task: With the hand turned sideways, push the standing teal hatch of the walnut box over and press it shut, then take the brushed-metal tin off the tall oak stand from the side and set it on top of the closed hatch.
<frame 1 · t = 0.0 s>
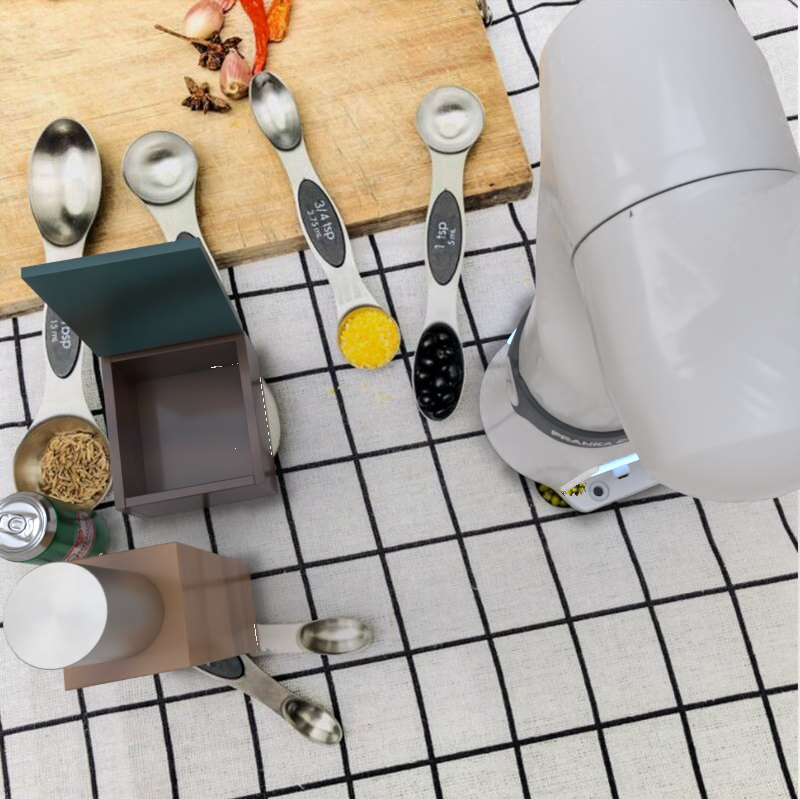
stand: (212, 614, 68), on the table
tin: (121, 614, 47), point 22 cm above the table, touching stand
soda can: (82, 539, 70), on the table
chest: (202, 435, 72), on the table
hatch: (143, 303, 60), point 14 cm above the table, hinge at 95.0°
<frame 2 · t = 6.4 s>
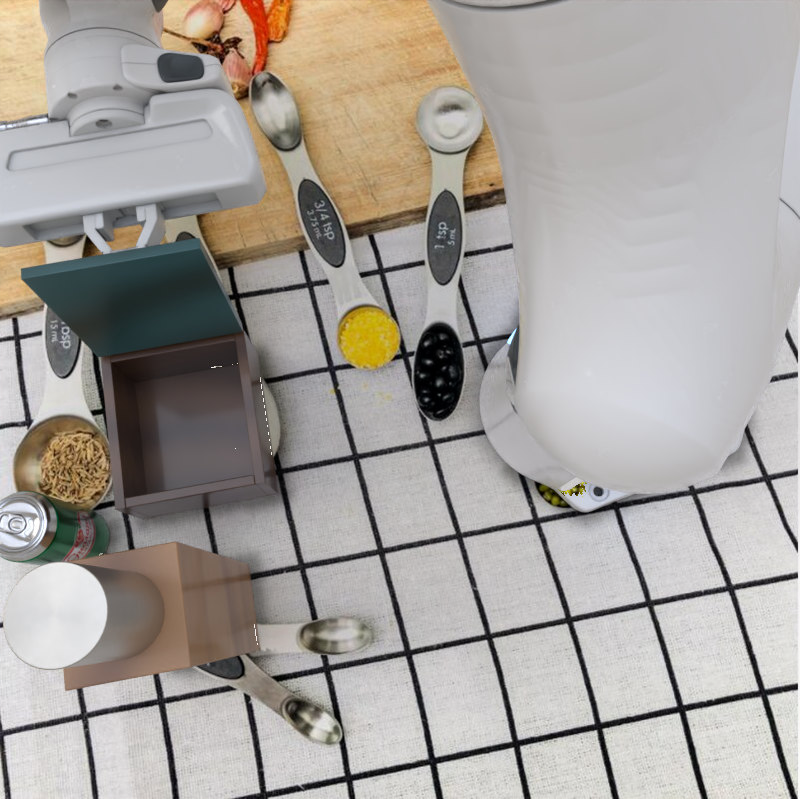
hand: (130, 277, 57), 17 cm above the table, tool horizontal, fingers closed, pressing on hatch
hatch: (143, 303, 60), point 14 cm above the table, hinge at 94.6°, touching gripper
everything else where it was.
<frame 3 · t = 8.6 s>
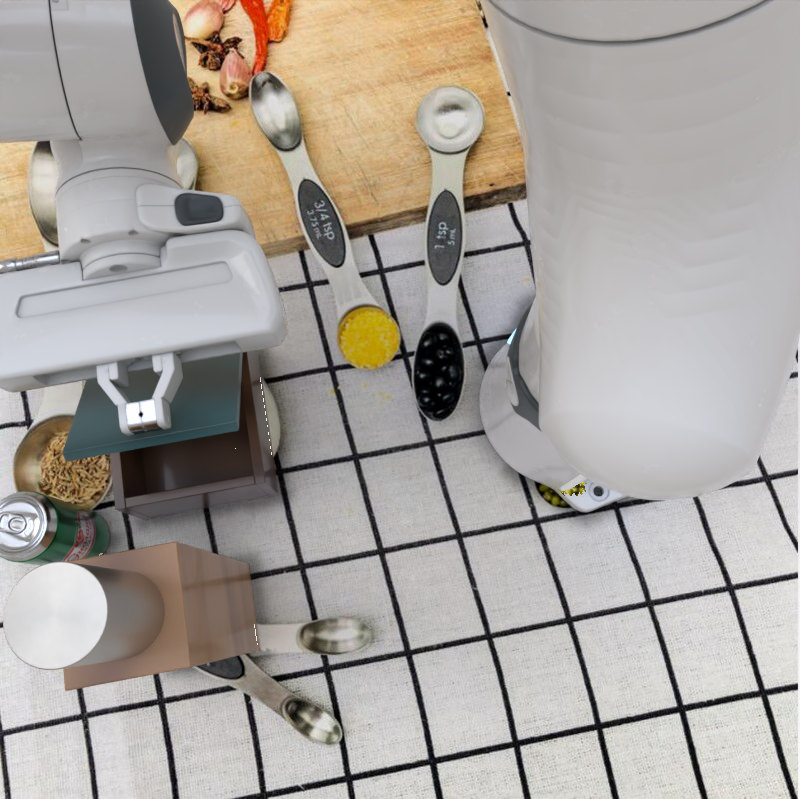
hand: (146, 430, 54), 17 cm above the table, tool horizontal, fingers closed
hatch: (161, 386, 61), point 12 cm above the table, hinge at 40.5°, touching gripper
everything else where it was.
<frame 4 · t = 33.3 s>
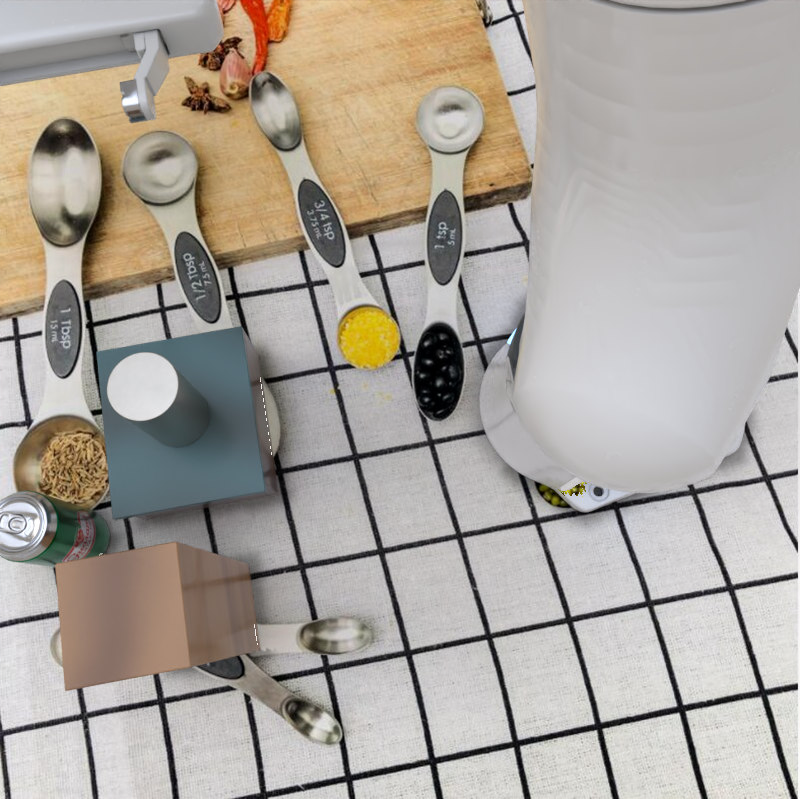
hand: (58, 129, 48), 28 cm above the table, tool horizontal, fingers open, 8 cm apart
tin: (178, 416, 64), point 8 cm above the table, touching hatch
hatch: (180, 420, 65), point 7 cm above the table, hinge at -0.2°, touching chest, tin
everything else where it was.
at the end: hatch at +0° (first picture: +95°); tin inside the target area on the chest (0.2 cm from its centre), point 7.6 cm above the chest's base; tin tilted 0° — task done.
